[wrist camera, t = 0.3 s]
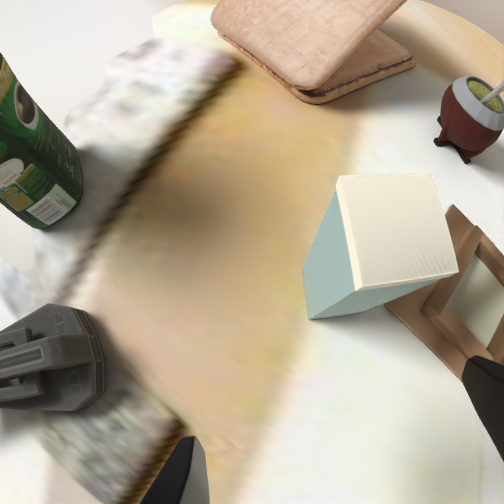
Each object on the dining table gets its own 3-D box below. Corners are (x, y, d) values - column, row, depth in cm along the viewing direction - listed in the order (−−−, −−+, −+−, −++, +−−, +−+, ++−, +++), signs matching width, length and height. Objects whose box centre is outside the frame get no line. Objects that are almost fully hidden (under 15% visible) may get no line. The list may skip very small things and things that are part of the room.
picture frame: (530, 300, 21) (546, 295, 18) (481, 402, 19) (497, 404, 16) (449, 206, 24) (462, 194, 22) (384, 305, 22) (397, 300, 19)
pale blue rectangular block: (360, 313, 22) (458, 272, 9) (307, 320, 22) (362, 286, 9) (352, 261, 23) (431, 174, 11) (301, 266, 23) (339, 175, 11)
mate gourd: (455, 114, 28) (509, 25, 13) (490, 169, 25) (564, 87, 11) (412, 119, 27) (465, 11, 13) (449, 180, 25) (533, 80, 11)
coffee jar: (26, 174, 27) (-71, 78, 10) (79, 139, 28) (-7, 17, 10) (32, 244, 25) (-106, 152, 7) (92, 206, 25) (-38, 69, 8)
